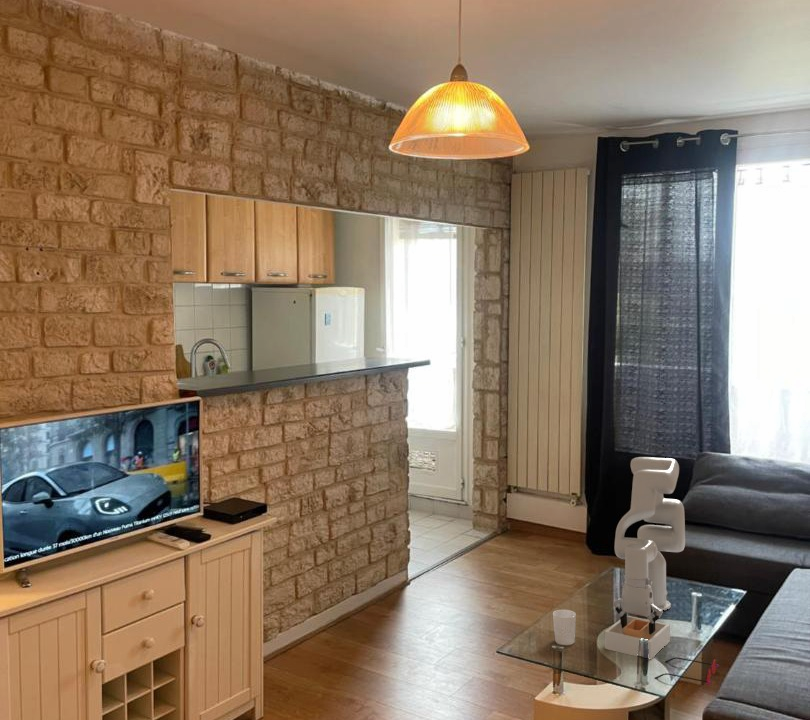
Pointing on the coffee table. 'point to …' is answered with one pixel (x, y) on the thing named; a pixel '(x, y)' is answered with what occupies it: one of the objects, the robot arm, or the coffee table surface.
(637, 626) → the orange crate
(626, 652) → the box
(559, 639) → the white cup
